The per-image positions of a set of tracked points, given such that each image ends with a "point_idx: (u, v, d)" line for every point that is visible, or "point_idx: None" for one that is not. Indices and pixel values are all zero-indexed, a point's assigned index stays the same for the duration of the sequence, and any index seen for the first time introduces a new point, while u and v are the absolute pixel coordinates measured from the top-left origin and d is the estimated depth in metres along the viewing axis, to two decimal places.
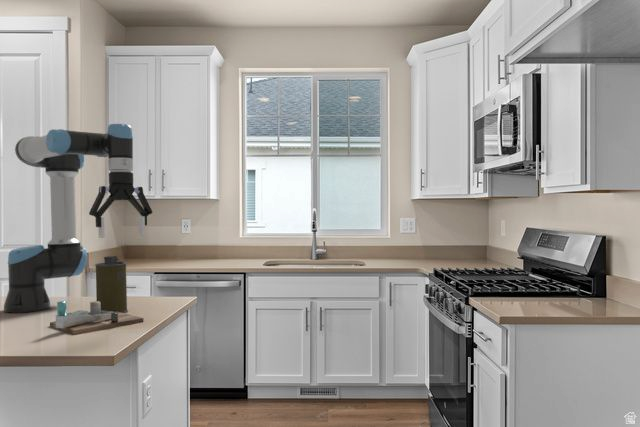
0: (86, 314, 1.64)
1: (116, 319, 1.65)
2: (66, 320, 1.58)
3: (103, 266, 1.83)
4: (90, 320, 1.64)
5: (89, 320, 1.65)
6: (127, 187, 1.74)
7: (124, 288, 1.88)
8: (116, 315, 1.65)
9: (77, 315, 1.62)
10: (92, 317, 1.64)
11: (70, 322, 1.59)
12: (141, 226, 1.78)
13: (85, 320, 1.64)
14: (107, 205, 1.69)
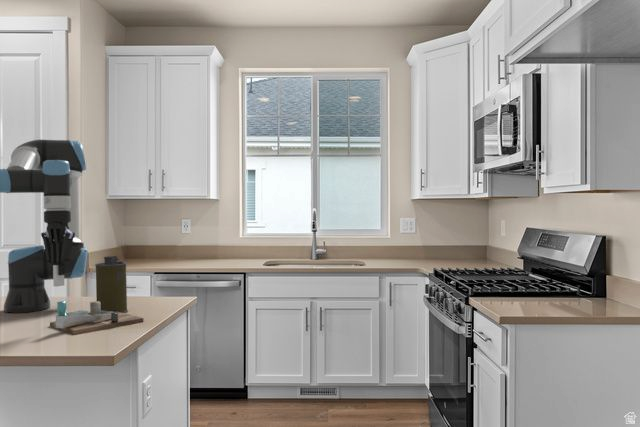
0: (86, 314, 1.64)
1: (116, 319, 1.65)
2: (66, 320, 1.58)
3: (103, 266, 1.83)
4: (90, 320, 1.64)
5: (89, 320, 1.65)
6: (59, 223, 1.63)
7: (124, 288, 1.88)
8: (116, 315, 1.65)
9: (77, 315, 1.62)
10: (92, 317, 1.64)
11: (70, 322, 1.59)
12: None
13: (85, 320, 1.64)
14: (51, 250, 1.65)
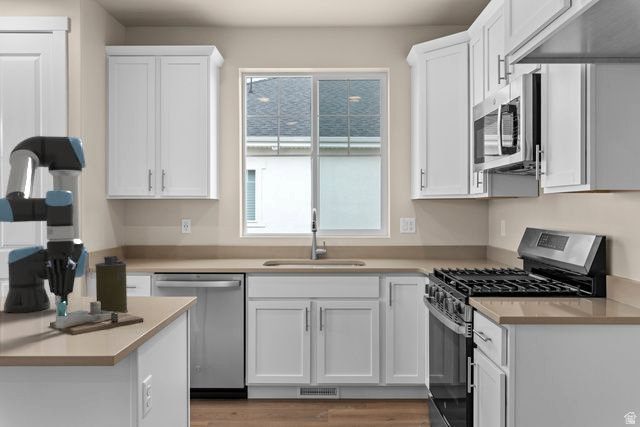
0: (86, 314, 1.64)
1: (116, 319, 1.65)
2: (66, 320, 1.58)
3: (103, 266, 1.83)
4: (90, 320, 1.64)
5: (89, 320, 1.65)
6: (62, 254, 1.63)
7: (124, 288, 1.88)
8: (116, 315, 1.65)
9: (77, 315, 1.62)
10: (92, 317, 1.64)
11: (70, 322, 1.59)
12: None
13: (85, 320, 1.64)
14: (54, 280, 1.64)
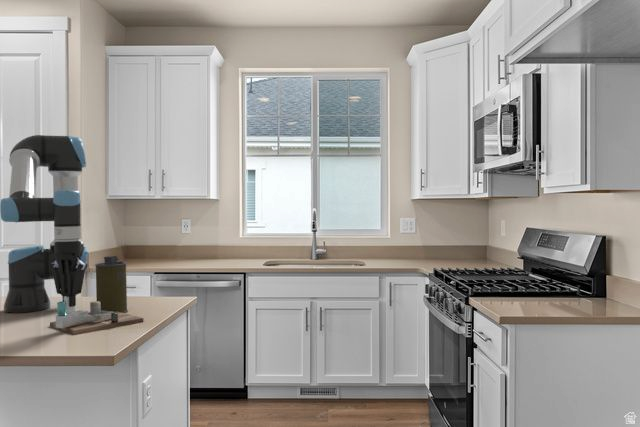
0: (86, 314, 1.64)
1: (116, 319, 1.65)
2: (66, 320, 1.58)
3: (103, 266, 1.83)
4: (90, 320, 1.64)
5: (89, 320, 1.65)
6: (71, 254, 1.61)
7: (124, 288, 1.88)
8: (116, 315, 1.65)
9: (77, 315, 1.62)
10: (92, 317, 1.64)
11: (70, 322, 1.59)
12: None
13: (85, 320, 1.64)
14: (62, 281, 1.63)
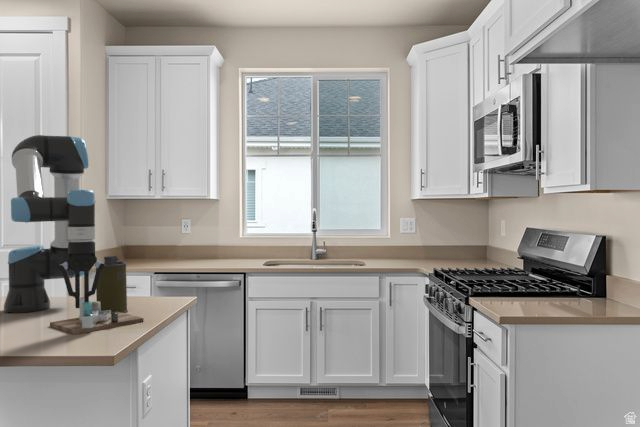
0: (97, 313, 1.65)
1: (116, 319, 1.65)
2: (93, 319, 1.58)
3: None
4: (101, 319, 1.66)
5: (100, 319, 1.66)
6: (90, 255, 1.61)
7: (124, 288, 1.88)
8: (116, 315, 1.65)
9: (95, 314, 1.62)
10: (104, 316, 1.66)
11: (94, 321, 1.59)
12: None
13: (97, 319, 1.65)
14: (77, 282, 1.59)
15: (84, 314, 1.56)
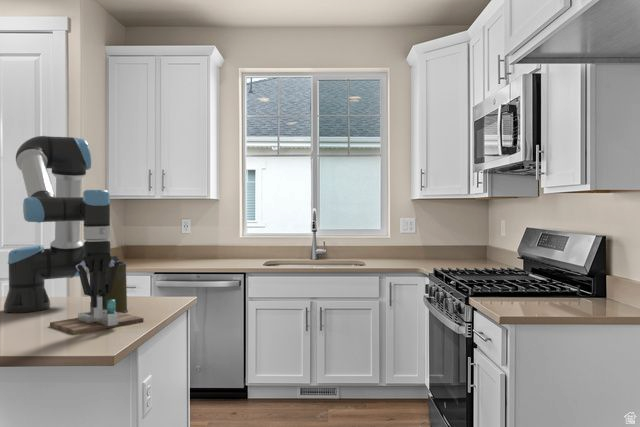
0: None
1: None
2: None
3: None
4: None
5: None
6: (106, 254, 1.63)
7: (124, 288, 1.88)
8: None
9: None
10: None
11: None
12: None
13: None
14: (95, 282, 1.60)
15: (110, 312, 1.59)
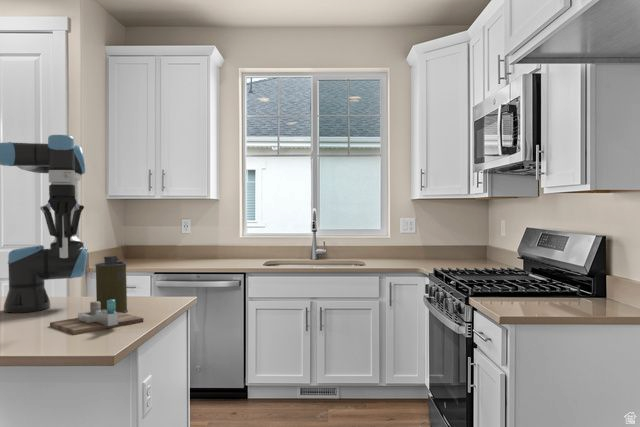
0: None
1: None
2: None
3: (103, 266, 1.83)
4: None
5: None
6: (71, 197, 1.70)
7: (124, 288, 1.88)
8: None
9: None
10: None
11: None
12: None
13: None
14: (60, 223, 1.68)
15: (110, 312, 1.59)
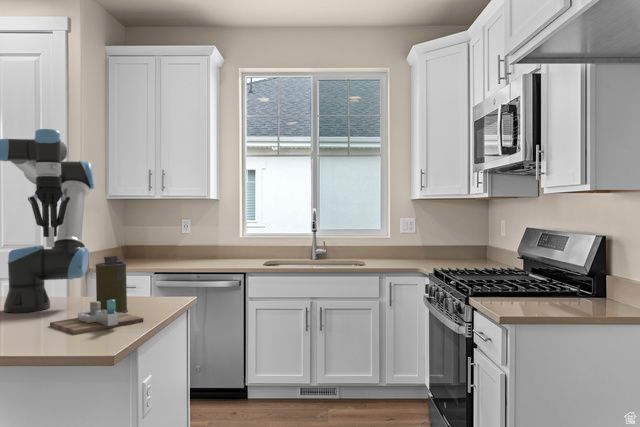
0: None
1: None
2: None
3: (103, 266, 1.83)
4: None
5: None
6: (57, 189, 1.78)
7: (124, 288, 1.88)
8: None
9: None
10: None
11: None
12: None
13: None
14: (46, 213, 1.75)
15: (110, 312, 1.59)
